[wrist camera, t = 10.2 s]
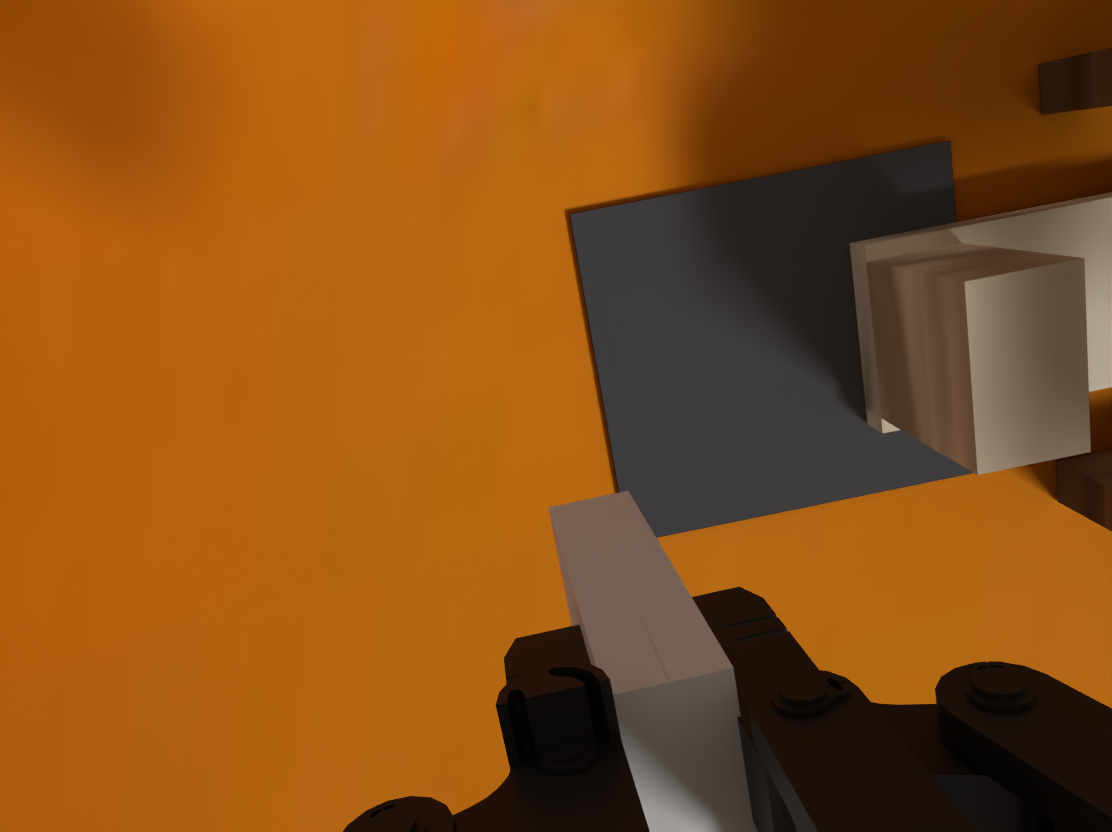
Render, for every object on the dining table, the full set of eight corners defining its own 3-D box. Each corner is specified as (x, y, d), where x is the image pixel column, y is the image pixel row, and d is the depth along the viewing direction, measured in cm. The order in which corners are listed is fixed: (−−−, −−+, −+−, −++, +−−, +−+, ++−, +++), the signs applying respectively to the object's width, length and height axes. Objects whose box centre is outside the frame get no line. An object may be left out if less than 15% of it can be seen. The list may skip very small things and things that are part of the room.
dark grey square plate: (627, 541, 31) (628, 543, 30) (569, 214, 28) (570, 214, 28) (971, 471, 31) (973, 473, 31) (948, 140, 28) (950, 140, 28)
